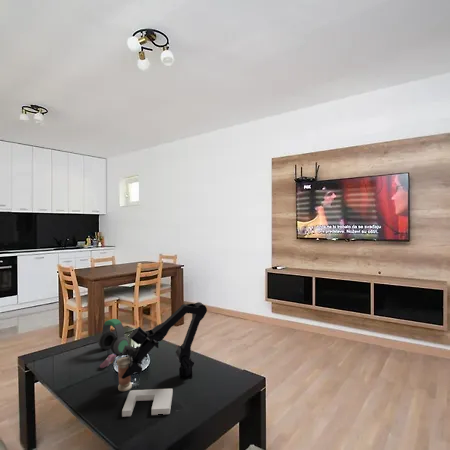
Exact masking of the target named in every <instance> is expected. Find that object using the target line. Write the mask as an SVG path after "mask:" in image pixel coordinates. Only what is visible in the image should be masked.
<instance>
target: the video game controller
mask: <svg viewBox="0 0 450 450" xmlns="http://www.w3.org/2000/svg"><path fill="white" fill-rule="evenodd" d="M117 355H118V354H115V353H112V354H109V355H107V358H106V359H105V360H104V361H103V362H102V363H101V362H100V363H99V368H100V369H104V368H106V367H109V366H110V365H112V364H113V362H114V361H115V359H116V358H117Z"/></svg>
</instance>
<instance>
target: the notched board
mask: <svg viewBox="0 0 450 450" xmlns="http://www.w3.org/2000/svg"><path fill="white" fill-rule="evenodd" d="M173 391H174V390H173V388H154V389H153V388H152V389H151V388H150V389H133V390H131V389H130V390H129V392H128V394H127V397H126V400H125V402H124V405H123V408H122V410H121V417H122V418H123V417H124V418H125V417H132V414H133V411H134V408H135V406H136V402H139V401H141V402H142V401H153V402H152V404H151V405H152V406H151V409H150V410H151V416H159V415H158V414H163V415H170V414H171V406H172V402H173V401H172V400H173V393H174V392H173Z"/></svg>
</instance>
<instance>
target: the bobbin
mask: <svg viewBox="0 0 450 450" xmlns="http://www.w3.org/2000/svg"><path fill="white" fill-rule="evenodd" d="M130 362H131V359H130V358H129V357H126V356H124V357H120V358H117V360H116V365H117V370H118V371H117V372H118V373H117V374H118V386H117V389H118V391H119V392H127V391H130V390H131V389H132V388H133V383H132V382H131V380H132V379H131V376H132V375H130V376H128V377H126V378H124V379H123V378H122V376H123V374H124V373H125V371H126V370H127V369H128V363H129V364H130Z"/></svg>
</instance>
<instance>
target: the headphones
mask: <svg viewBox="0 0 450 450" xmlns="http://www.w3.org/2000/svg"><path fill="white" fill-rule="evenodd" d="M111 327H112V328H113V329H114V331H115V333H114V332H112V331H111ZM101 332H102V333H101V334H100V336H99V337H98V341H97V342H98V346H99V347H100V348H101V349H103V350H104V351H108V350H110V349H111V352H112V354H115V355H121V354H120V353H123V352H122V351H123V349H124V347H125V345H127V346H130V342H129V338H127V337H126V335H125V334H126V332H125V328H124V325H123V323H122V321H121V320H119V319H117V318H110V319H108V320H106V321H104V324H103V326H102V331H101Z"/></svg>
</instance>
